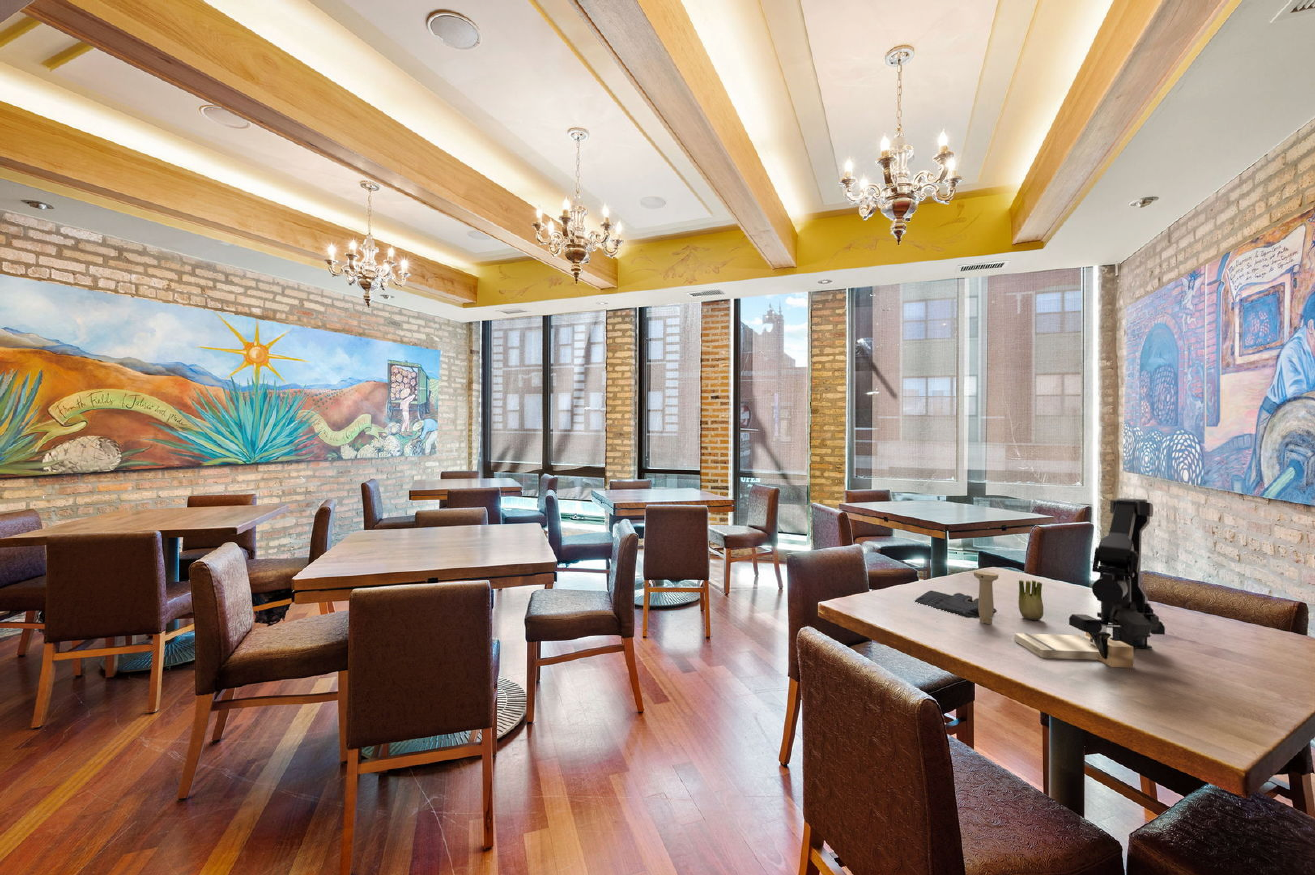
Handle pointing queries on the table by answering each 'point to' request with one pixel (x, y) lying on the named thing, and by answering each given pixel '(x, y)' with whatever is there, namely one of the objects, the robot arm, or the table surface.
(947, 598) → the dark slate chunk
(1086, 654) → the ash plank
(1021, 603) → the fennel bulb
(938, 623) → the table surface
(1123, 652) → the marking gauge
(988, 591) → the handle
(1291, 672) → the table surface
